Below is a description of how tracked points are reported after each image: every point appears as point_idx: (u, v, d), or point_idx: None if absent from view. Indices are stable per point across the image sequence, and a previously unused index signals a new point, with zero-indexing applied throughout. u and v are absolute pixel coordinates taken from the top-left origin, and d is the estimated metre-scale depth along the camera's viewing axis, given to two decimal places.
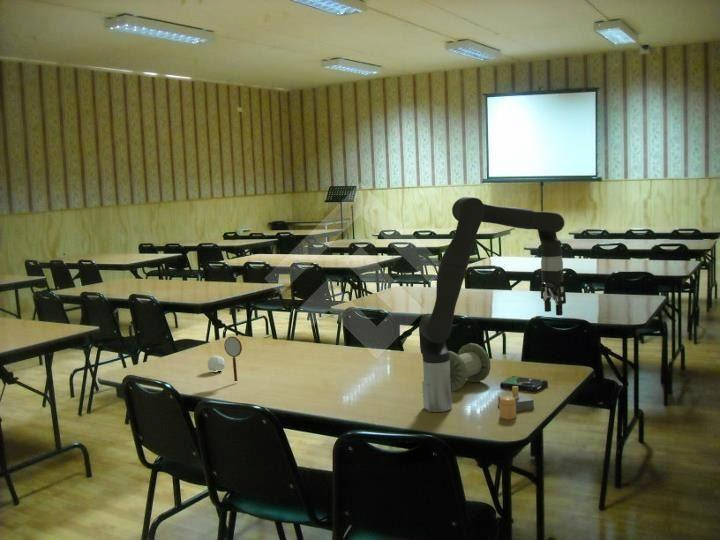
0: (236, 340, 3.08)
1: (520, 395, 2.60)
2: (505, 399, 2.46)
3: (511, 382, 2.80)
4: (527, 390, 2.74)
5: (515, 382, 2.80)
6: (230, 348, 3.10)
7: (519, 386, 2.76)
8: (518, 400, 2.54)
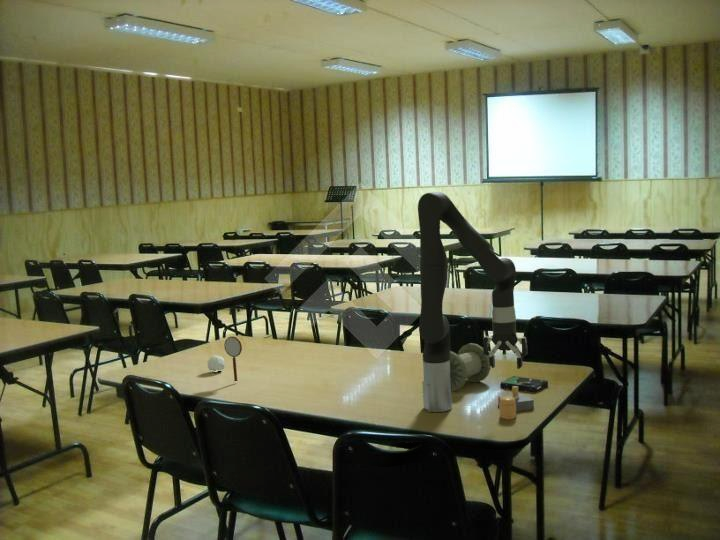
0: (236, 340, 3.08)
1: (520, 395, 2.60)
2: (505, 399, 2.46)
3: (511, 382, 2.80)
4: (527, 390, 2.74)
5: (515, 382, 2.80)
6: (230, 348, 3.10)
7: (519, 386, 2.76)
8: (518, 400, 2.54)
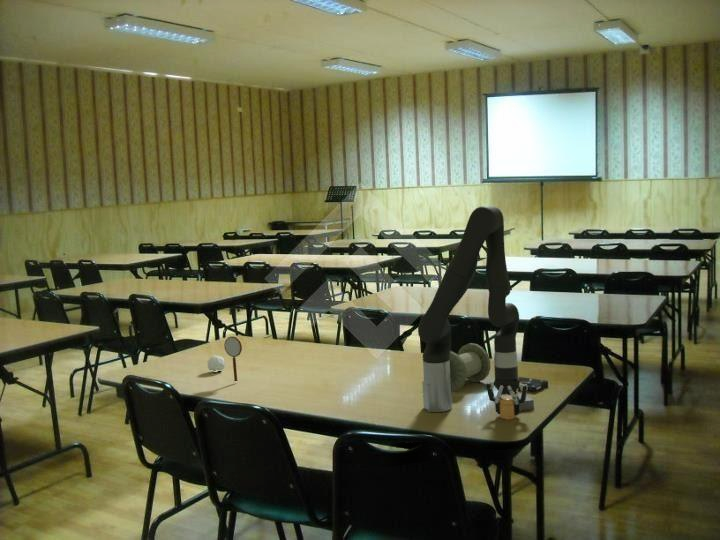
0: (236, 340, 3.08)
1: (520, 395, 2.60)
2: (505, 399, 2.46)
3: None
4: None
5: None
6: (230, 348, 3.10)
7: None
8: None
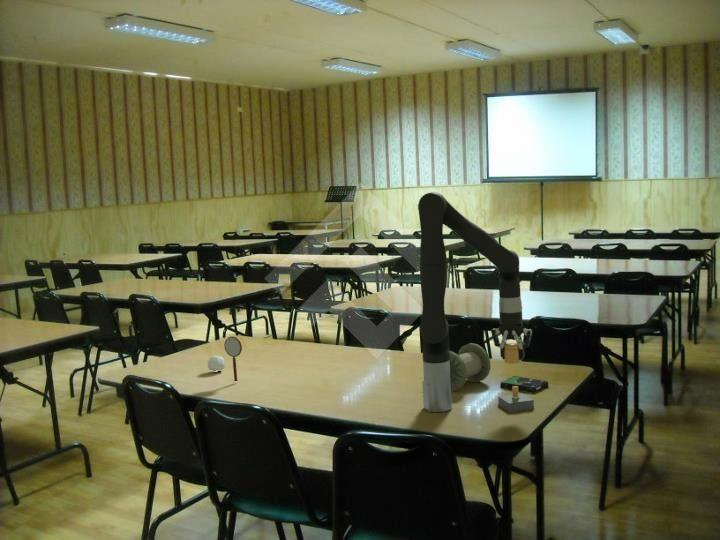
0: (236, 340, 3.08)
1: (520, 395, 2.60)
2: (510, 344, 2.52)
3: (511, 382, 2.80)
4: (526, 390, 2.74)
5: (515, 382, 2.80)
6: (230, 348, 3.10)
7: (518, 386, 2.76)
8: (518, 400, 2.54)
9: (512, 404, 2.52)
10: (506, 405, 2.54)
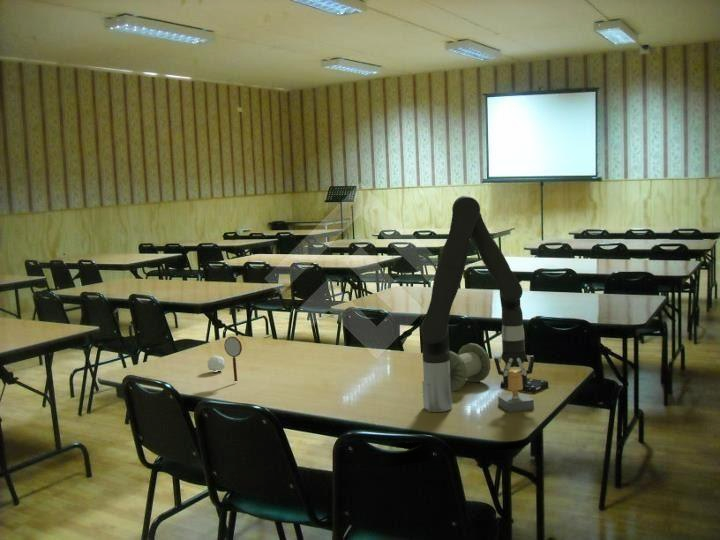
0: (236, 340, 3.08)
1: (520, 395, 2.60)
2: (513, 371, 2.56)
3: None
4: (526, 390, 2.74)
5: None
6: (230, 348, 3.10)
7: None
8: (518, 400, 2.54)
9: (512, 404, 2.52)
10: (506, 405, 2.54)
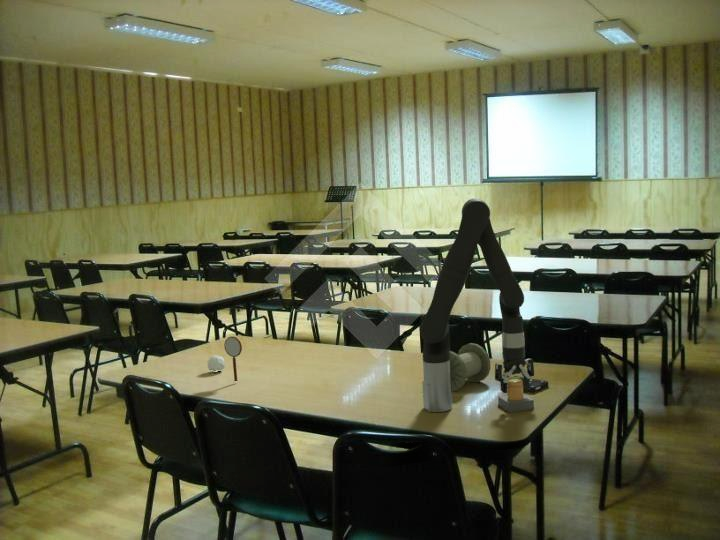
0: (236, 340, 3.08)
1: None
2: (514, 381, 2.55)
3: None
4: (526, 390, 2.74)
5: None
6: (230, 348, 3.10)
7: None
8: (518, 400, 2.54)
9: (512, 404, 2.52)
10: (506, 405, 2.54)
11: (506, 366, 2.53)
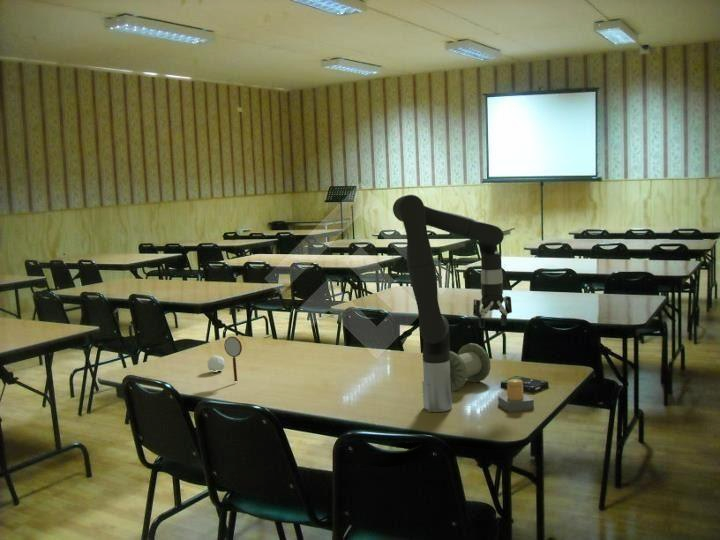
0: (236, 340, 3.08)
1: None
2: (514, 381, 2.55)
3: None
4: (525, 390, 2.74)
5: None
6: (230, 348, 3.10)
7: None
8: (518, 400, 2.54)
9: (512, 404, 2.52)
10: (506, 405, 2.54)
11: (484, 302, 2.62)
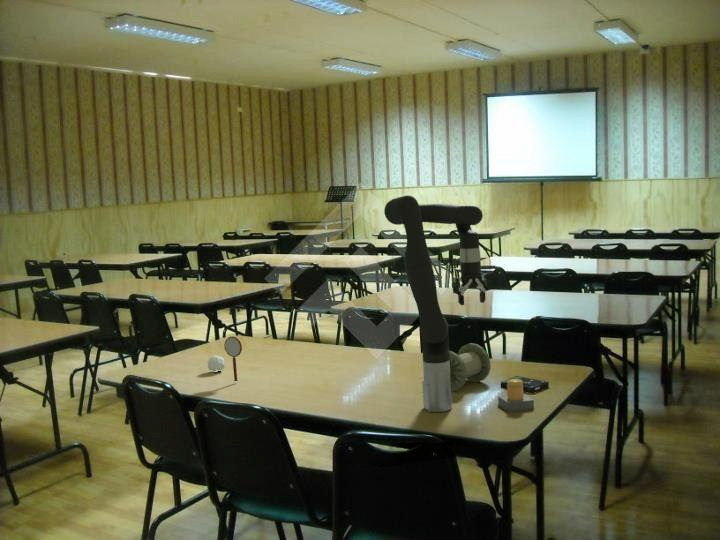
0: (236, 340, 3.08)
1: None
2: (514, 381, 2.55)
3: None
4: (525, 390, 2.74)
5: None
6: (230, 348, 3.10)
7: None
8: (518, 400, 2.54)
9: (512, 404, 2.52)
10: (506, 405, 2.54)
11: (463, 280, 2.72)
